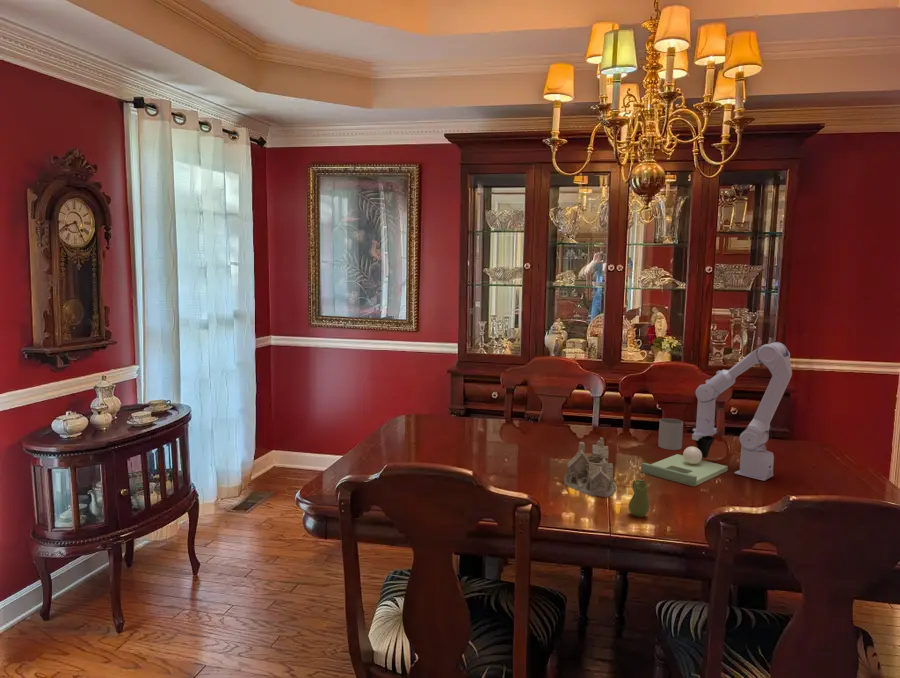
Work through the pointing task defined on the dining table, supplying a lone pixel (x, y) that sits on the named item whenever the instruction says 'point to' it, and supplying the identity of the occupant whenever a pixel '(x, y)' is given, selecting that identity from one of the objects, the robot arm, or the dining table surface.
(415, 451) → the dining table surface
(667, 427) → the cup
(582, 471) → the ceramic cottage
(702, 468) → the putting mat
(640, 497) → the pear
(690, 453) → the golf ball
